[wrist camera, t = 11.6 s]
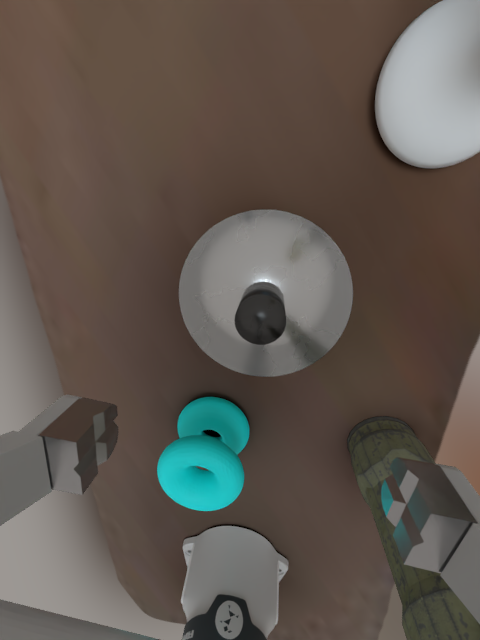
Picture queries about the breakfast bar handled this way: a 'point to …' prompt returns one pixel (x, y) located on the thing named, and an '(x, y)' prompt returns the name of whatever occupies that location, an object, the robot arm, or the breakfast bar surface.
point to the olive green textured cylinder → (412, 583)
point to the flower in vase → (433, 87)
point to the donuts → (205, 455)
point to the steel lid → (265, 293)
